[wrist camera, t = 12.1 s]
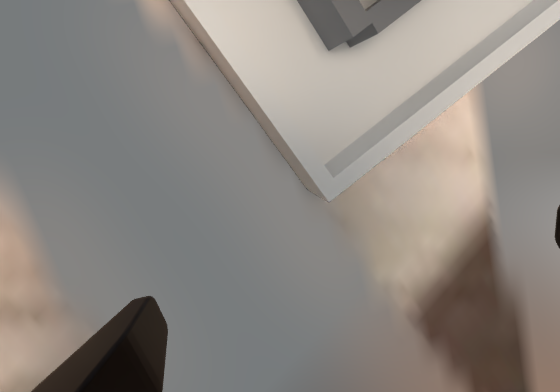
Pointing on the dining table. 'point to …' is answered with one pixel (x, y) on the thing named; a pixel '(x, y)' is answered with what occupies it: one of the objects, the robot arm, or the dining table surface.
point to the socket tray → (357, 69)
